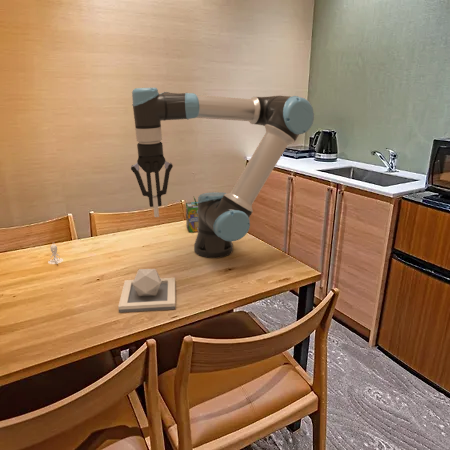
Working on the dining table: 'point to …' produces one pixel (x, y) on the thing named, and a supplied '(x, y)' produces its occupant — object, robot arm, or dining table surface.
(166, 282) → the pocket plate
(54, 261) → the toy figurine
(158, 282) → the die
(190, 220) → the chalk box
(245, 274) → the dining table surface
